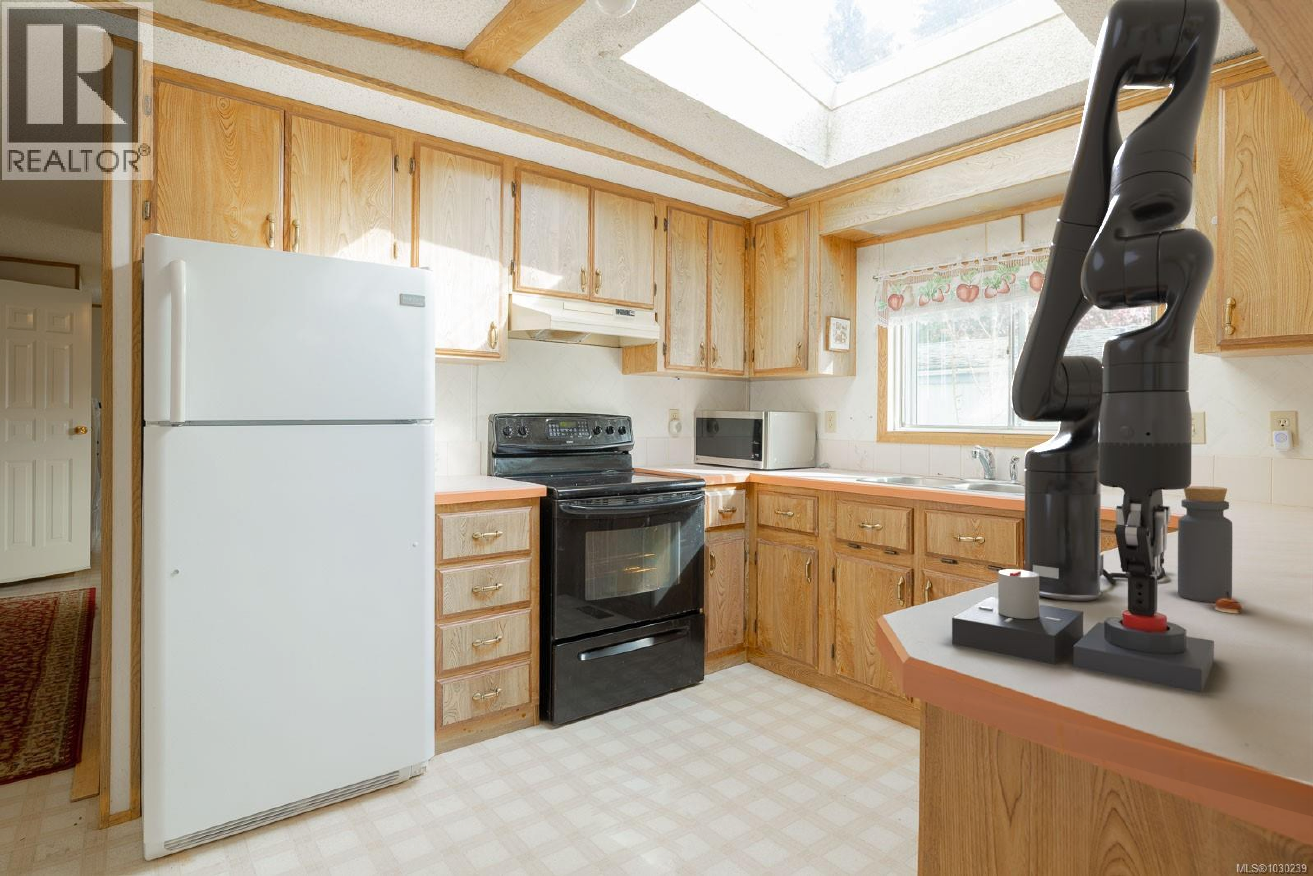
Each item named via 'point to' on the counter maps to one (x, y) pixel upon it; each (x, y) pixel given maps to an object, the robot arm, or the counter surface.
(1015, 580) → the timer knob
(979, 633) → the panel
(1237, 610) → the reddish brown rounded piece
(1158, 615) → the power button
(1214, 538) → the bottle
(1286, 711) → the counter surface
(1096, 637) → the power block
